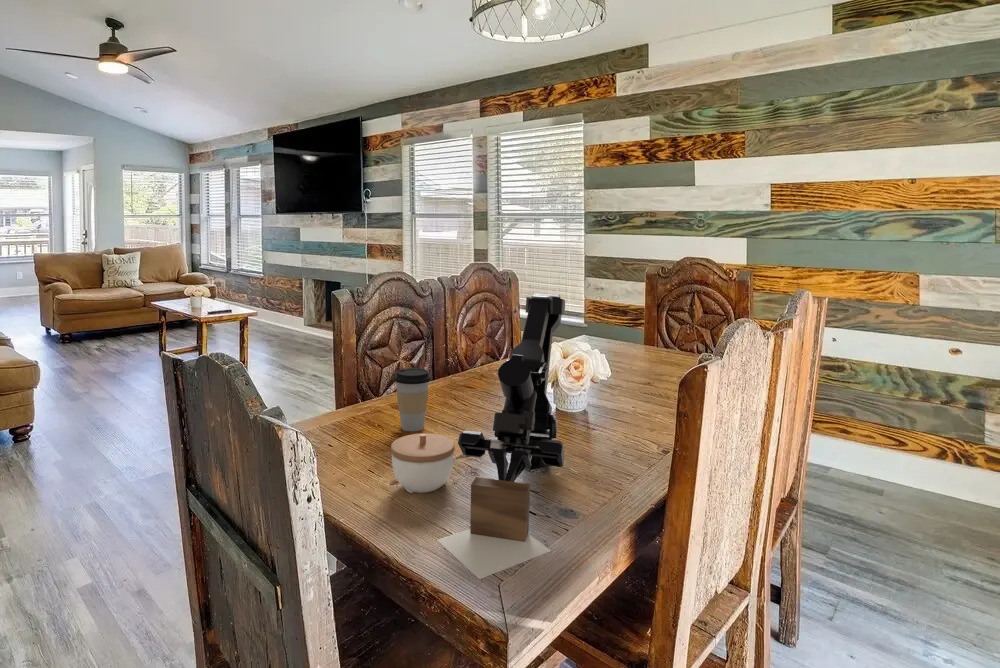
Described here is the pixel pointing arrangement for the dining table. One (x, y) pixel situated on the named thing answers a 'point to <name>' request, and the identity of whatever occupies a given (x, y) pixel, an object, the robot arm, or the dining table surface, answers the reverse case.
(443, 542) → the felt mat
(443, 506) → the dining table surface
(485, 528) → the walnut slab
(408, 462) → the lidded bowl
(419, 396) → the coffee cup
